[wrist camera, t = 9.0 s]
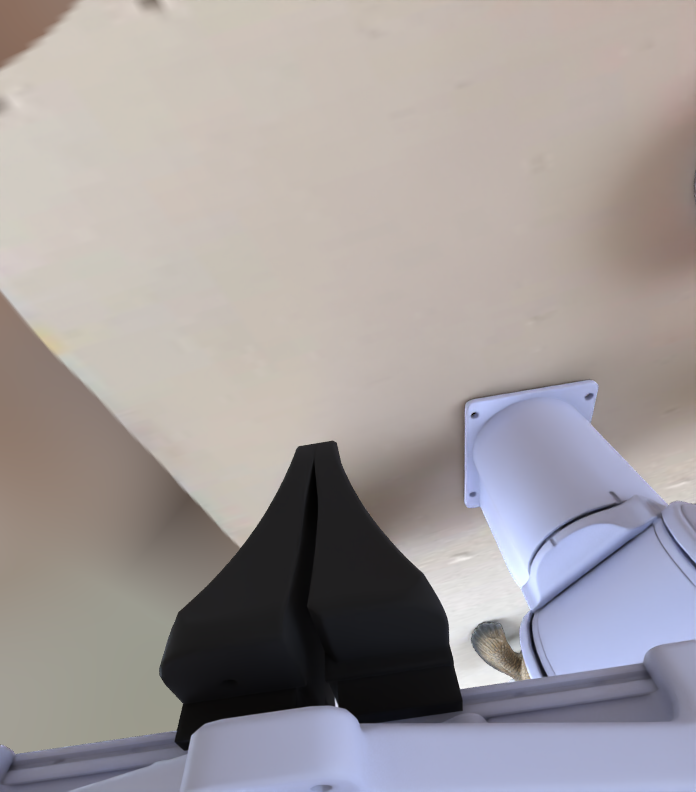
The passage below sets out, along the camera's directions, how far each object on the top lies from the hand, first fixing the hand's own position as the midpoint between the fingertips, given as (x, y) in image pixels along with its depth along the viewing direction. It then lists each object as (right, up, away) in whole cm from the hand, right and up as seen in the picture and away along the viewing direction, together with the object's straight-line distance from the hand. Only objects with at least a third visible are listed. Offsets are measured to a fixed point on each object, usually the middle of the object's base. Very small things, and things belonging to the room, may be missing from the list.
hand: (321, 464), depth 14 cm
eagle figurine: (+18, -22, +27) cm, 39 cm away
